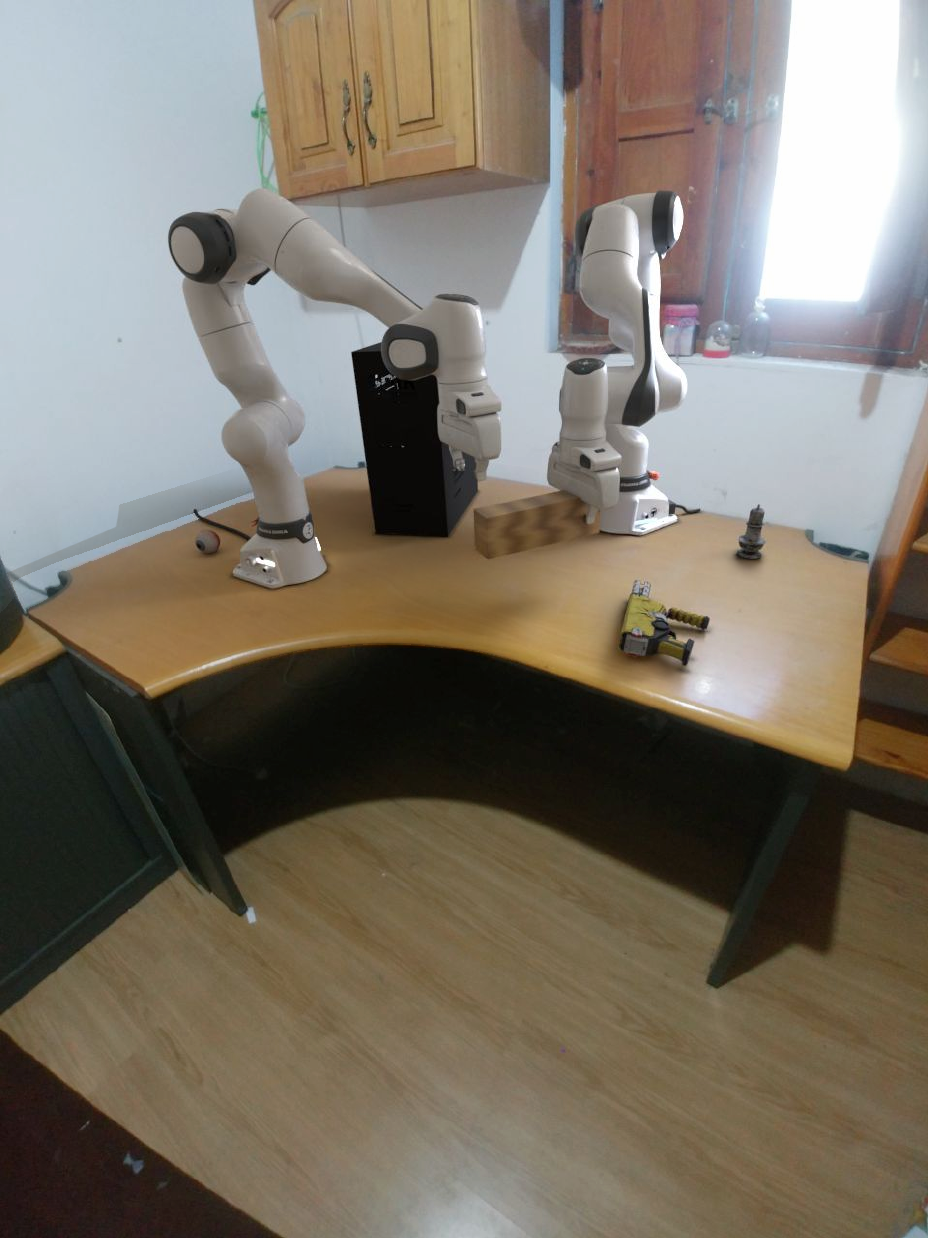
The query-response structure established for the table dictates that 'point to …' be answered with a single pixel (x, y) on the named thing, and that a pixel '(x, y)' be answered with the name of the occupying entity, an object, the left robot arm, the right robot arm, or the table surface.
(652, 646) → the toy gun
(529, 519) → the bar
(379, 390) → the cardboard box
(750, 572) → the table surface
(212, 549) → the eyeball
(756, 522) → the salt shaker
